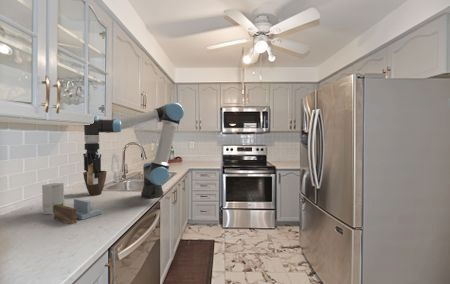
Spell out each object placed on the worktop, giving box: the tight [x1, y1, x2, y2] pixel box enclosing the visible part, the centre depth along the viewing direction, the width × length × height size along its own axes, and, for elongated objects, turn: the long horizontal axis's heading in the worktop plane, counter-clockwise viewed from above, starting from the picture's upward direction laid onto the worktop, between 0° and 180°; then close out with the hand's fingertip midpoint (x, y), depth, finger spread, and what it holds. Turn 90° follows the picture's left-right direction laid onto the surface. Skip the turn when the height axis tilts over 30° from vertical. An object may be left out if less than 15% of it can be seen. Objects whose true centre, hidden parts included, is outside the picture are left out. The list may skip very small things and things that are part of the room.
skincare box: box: [41, 182, 65, 215], centre depth 140 cm, size 8×7×16 cm
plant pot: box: [82, 170, 108, 196], centre depth 182 cm, size 15×15×16 cm
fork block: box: [73, 198, 102, 220], centre depth 135 cm, size 10×12×8 cm
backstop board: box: [53, 204, 77, 225], centre depth 126 cm, size 2×16×7 cm, turn 61°
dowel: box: [88, 165, 94, 185], centre depth 147 cm, size 4×4×11 cm
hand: (92, 183), depth 147 cm, fingers closed on dowel, 4 cm apart
